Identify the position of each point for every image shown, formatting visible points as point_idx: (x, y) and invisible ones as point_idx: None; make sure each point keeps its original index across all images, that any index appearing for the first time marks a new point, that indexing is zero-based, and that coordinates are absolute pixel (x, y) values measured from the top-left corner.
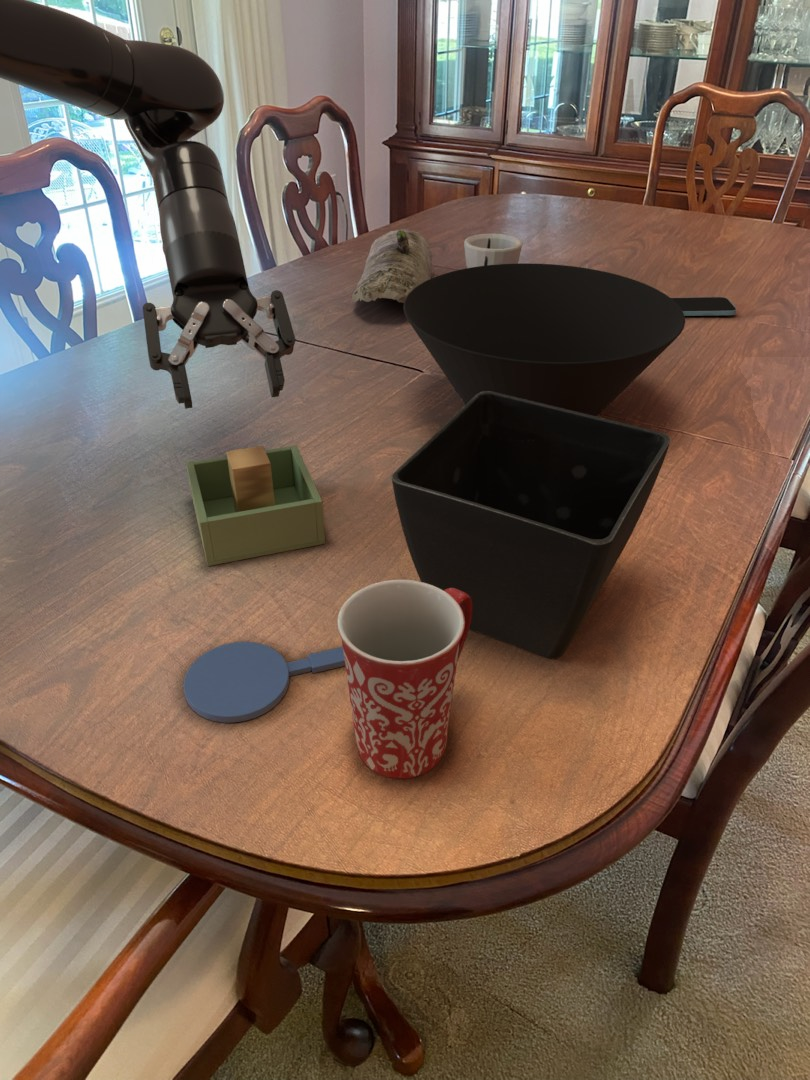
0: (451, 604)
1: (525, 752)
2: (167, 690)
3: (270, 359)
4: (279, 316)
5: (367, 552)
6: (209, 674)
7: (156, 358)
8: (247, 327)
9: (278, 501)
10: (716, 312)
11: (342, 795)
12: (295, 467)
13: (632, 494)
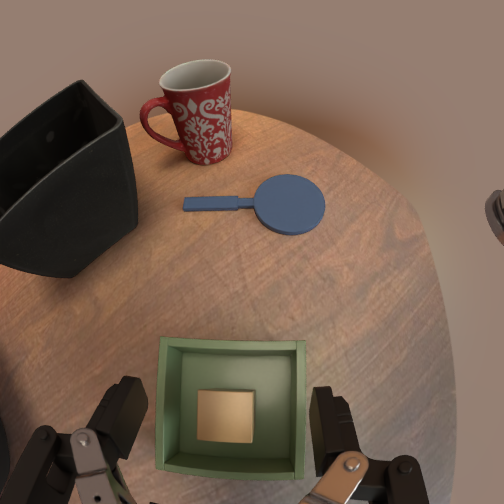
0: (162, 80)
1: None
2: (335, 212)
3: (104, 422)
4: (27, 484)
5: (147, 317)
6: (307, 207)
7: (399, 460)
8: (108, 496)
9: None
10: None
11: (247, 133)
12: (168, 442)
13: (34, 110)
